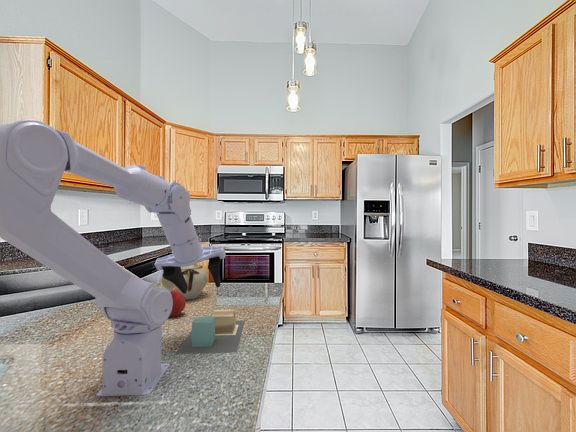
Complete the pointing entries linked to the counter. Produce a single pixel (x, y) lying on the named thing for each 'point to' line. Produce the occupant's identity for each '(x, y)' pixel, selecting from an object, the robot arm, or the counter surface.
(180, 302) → the onion
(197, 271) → the cream rounded vessel
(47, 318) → the counter surface
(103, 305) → the robot arm
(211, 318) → the teal block
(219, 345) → the mat
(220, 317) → the maple block
